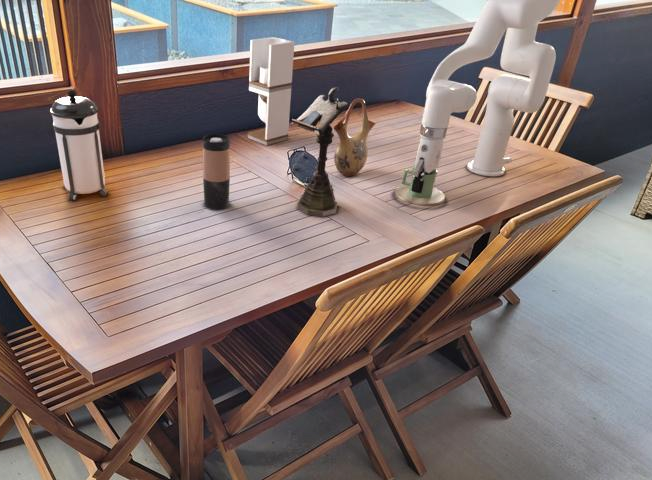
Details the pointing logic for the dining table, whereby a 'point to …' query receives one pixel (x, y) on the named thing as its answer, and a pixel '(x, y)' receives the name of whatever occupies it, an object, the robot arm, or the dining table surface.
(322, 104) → the ornate book stand
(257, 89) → the white dispenser tower
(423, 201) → the coffee cup on saucer
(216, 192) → the travel mug
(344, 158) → the ceramic vessel
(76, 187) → the coffee press
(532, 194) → the dining table surface
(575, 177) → the dining table surface
